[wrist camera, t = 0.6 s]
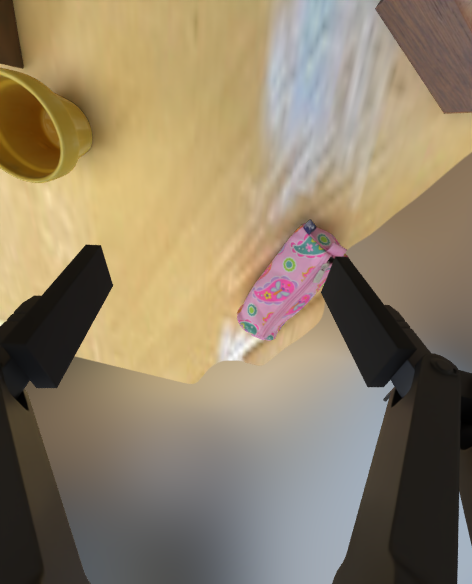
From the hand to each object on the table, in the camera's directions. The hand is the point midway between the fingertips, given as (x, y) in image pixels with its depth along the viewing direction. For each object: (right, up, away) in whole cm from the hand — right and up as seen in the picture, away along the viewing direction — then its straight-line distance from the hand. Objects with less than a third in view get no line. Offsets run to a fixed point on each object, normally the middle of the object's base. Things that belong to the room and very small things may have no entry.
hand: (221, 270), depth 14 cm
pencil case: (+10, +2, +31) cm, 32 cm away
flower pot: (-22, +21, +20) cm, 37 cm away
